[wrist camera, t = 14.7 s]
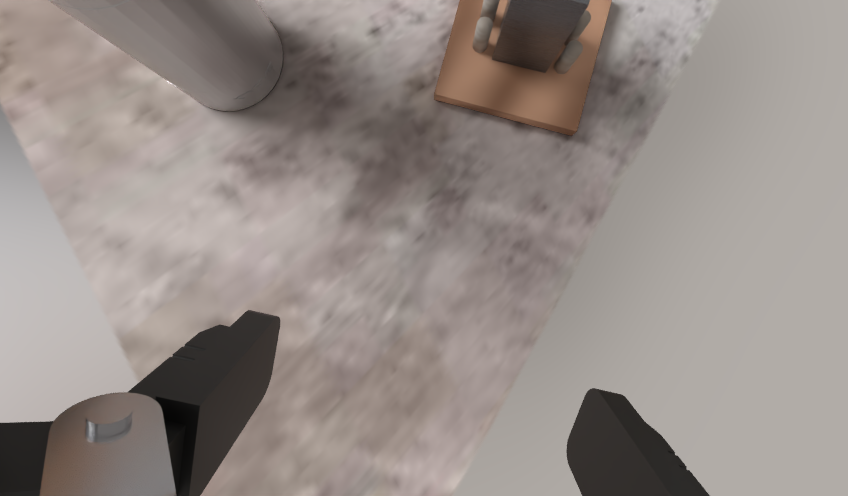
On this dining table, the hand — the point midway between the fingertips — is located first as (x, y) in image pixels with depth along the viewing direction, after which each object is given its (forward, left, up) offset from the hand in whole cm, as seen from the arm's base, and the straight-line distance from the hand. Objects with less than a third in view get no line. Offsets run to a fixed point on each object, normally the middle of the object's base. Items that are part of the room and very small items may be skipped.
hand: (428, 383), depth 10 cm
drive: (-9, +20, -23) cm, 32 cm away
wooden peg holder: (-9, +20, -24) cm, 33 cm away
